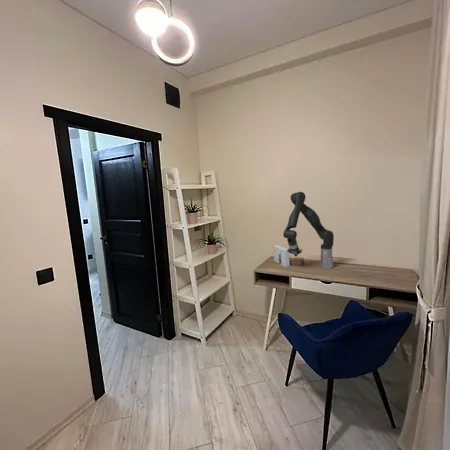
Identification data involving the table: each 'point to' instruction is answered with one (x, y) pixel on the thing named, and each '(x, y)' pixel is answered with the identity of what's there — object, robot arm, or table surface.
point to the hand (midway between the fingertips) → (296, 255)
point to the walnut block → (297, 261)
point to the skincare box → (281, 255)
